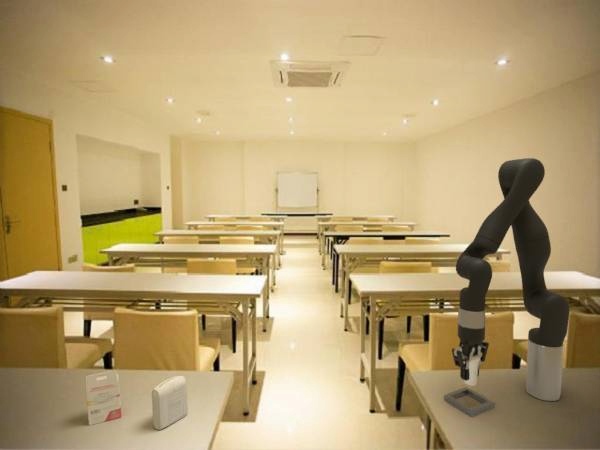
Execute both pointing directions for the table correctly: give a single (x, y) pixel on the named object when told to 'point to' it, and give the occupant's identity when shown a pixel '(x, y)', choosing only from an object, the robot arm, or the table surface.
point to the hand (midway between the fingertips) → (469, 377)
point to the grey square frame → (470, 411)
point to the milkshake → (472, 370)
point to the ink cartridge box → (103, 397)
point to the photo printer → (169, 402)
